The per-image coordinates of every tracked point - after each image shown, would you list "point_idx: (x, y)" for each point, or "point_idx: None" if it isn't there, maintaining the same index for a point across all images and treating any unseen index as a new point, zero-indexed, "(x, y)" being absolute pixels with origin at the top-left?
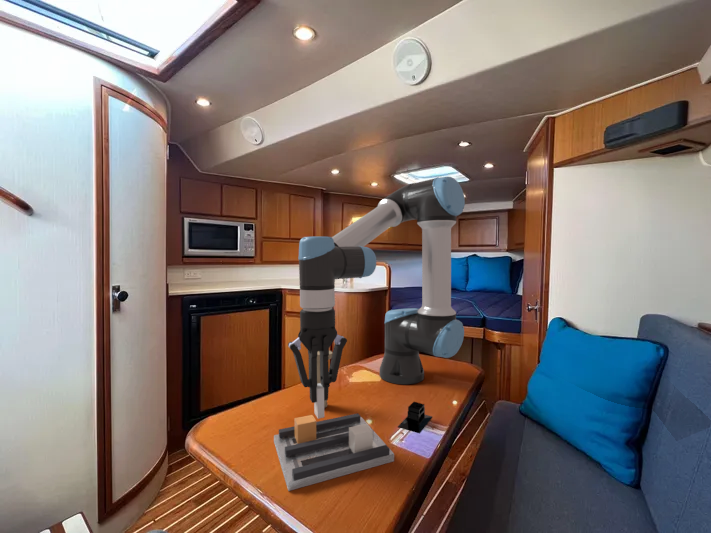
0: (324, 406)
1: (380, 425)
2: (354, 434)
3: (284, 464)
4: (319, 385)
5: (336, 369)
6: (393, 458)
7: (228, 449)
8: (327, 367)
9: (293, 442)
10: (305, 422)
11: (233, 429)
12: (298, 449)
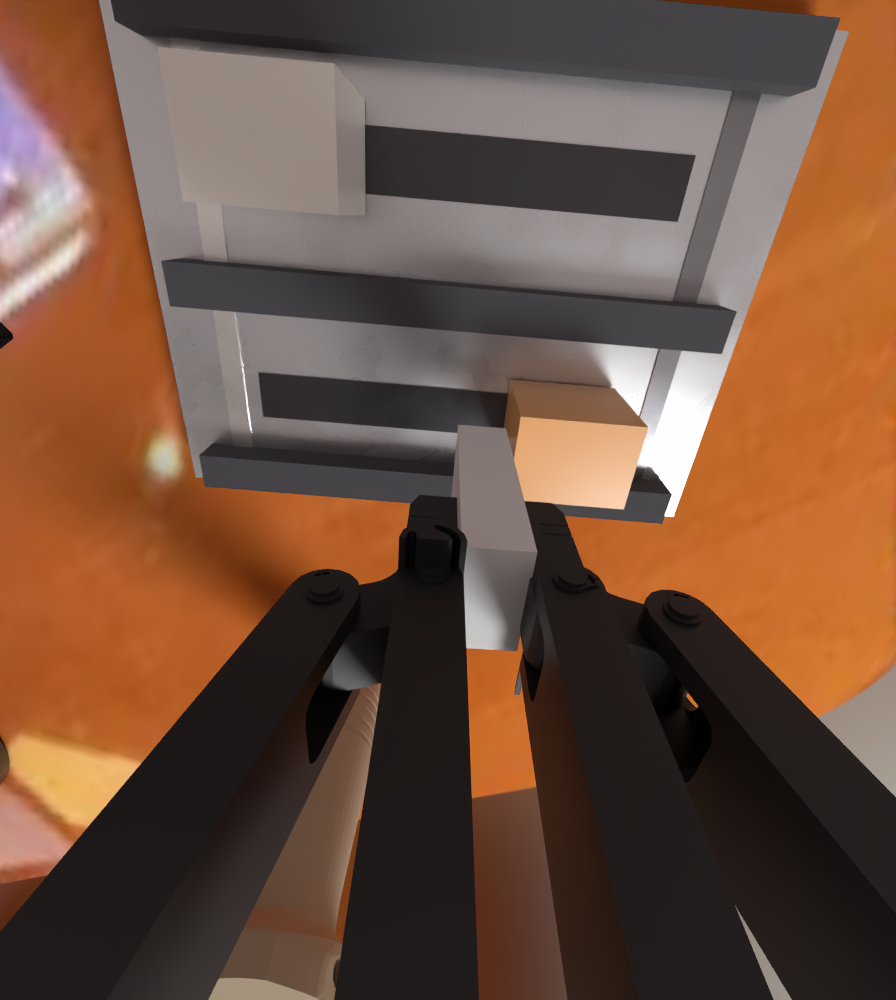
0: None
1: (111, 395)
2: (334, 67)
3: (766, 235)
4: (481, 608)
5: (240, 693)
6: None
7: (845, 531)
8: (389, 757)
9: None
10: (589, 433)
11: (754, 647)
12: (660, 304)
